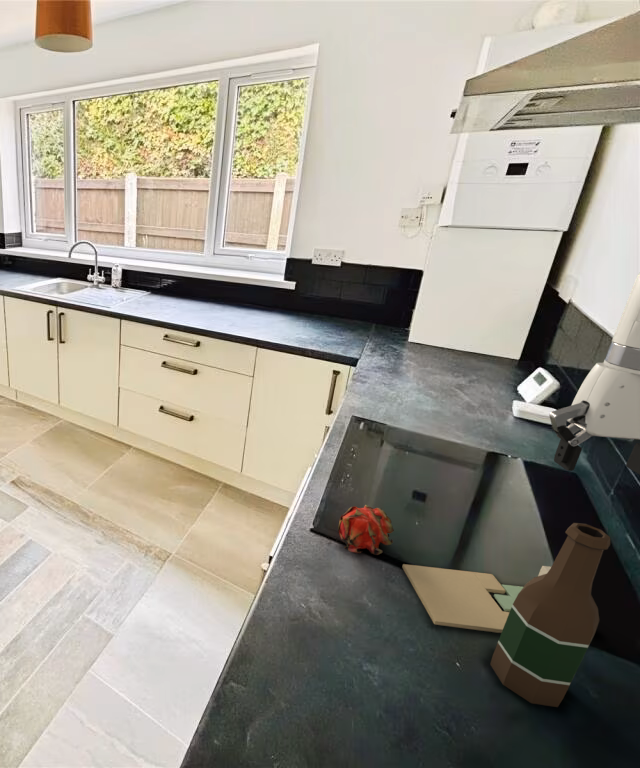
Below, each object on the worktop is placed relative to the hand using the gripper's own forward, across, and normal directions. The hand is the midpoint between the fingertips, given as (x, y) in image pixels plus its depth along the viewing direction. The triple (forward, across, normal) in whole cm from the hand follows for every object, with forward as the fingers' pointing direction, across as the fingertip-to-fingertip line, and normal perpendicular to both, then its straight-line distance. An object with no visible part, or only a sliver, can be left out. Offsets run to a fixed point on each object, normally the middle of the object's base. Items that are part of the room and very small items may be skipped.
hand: (599, 469), depth 68 cm
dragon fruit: (+22, +28, -5) cm, 36 cm away
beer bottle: (+22, +15, +19) cm, 33 cm away
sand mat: (+22, +16, +6) cm, 28 cm away
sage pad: (+22, +6, +6) cm, 24 cm away
